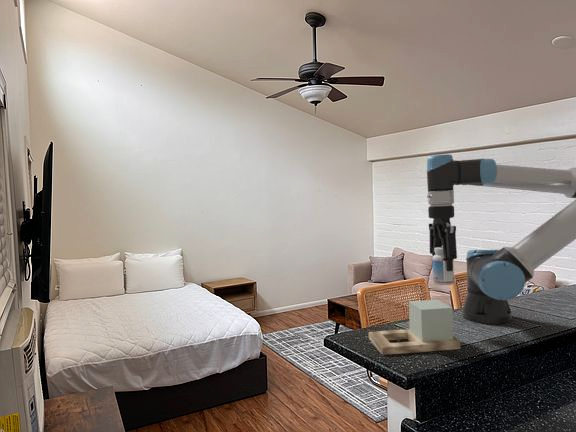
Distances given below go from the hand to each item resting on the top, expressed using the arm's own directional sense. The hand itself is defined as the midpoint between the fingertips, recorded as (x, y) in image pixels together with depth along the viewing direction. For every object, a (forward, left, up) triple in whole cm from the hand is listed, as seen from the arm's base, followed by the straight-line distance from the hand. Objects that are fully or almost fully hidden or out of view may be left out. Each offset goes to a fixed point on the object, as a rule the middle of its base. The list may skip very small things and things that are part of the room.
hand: (443, 279), depth 130 cm
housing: (+9, +10, -14) cm, 19 cm away
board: (+14, +10, -16) cm, 24 cm away
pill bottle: (0, 0, -2) cm, 2 cm away
